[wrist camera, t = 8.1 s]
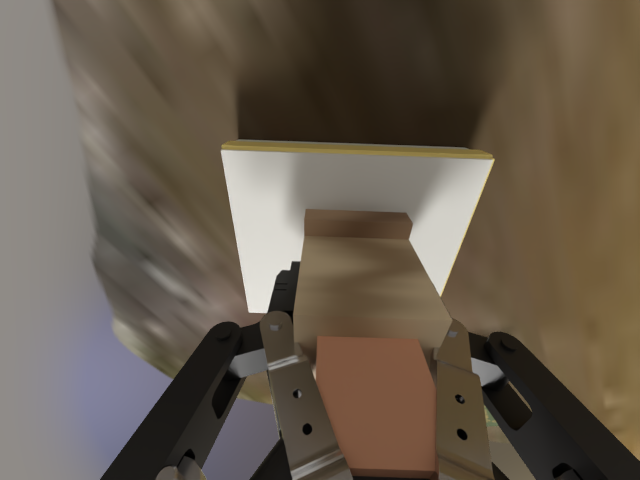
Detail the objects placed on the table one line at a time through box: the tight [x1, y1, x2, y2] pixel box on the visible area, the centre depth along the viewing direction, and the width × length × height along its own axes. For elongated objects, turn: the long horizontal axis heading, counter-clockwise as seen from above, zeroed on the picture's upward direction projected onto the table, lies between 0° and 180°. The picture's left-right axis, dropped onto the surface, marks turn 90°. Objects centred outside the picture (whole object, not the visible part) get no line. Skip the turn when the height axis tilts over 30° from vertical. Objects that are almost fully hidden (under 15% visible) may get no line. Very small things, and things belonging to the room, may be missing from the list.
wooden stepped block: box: [293, 209, 453, 380], centre depth 12 cm, size 5×7×6 cm
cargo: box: [316, 336, 436, 479], centre depth 8 cm, size 4×4×4 cm
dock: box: [221, 139, 495, 313], centre depth 17 cm, size 14×12×3 cm
